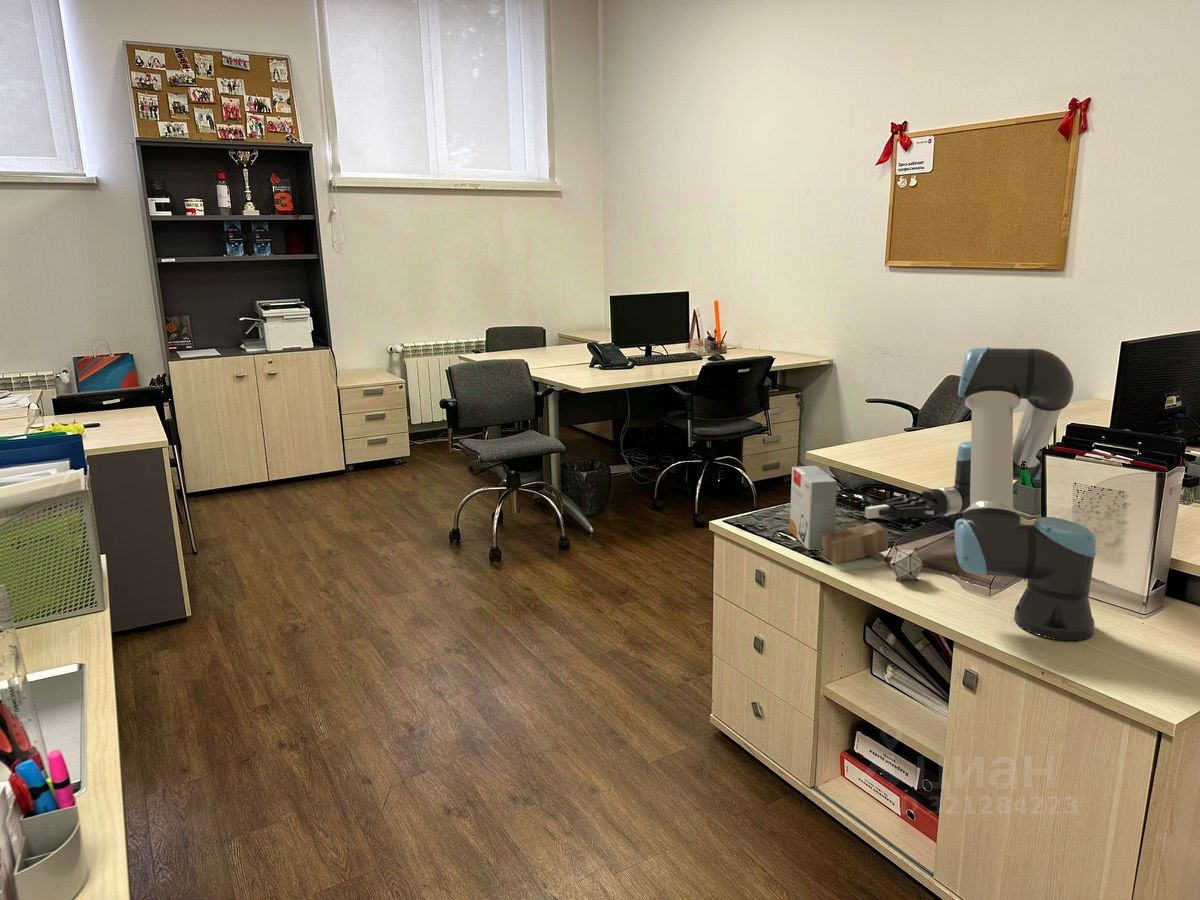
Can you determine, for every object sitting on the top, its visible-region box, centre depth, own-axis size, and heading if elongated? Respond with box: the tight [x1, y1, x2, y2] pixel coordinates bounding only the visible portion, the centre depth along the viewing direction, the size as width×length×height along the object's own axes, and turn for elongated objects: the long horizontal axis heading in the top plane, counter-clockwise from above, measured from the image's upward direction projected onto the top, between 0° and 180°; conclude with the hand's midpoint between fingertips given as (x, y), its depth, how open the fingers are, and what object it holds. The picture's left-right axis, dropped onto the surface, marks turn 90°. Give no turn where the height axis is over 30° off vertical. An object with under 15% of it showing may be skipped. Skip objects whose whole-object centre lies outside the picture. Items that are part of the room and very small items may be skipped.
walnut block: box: [822, 522, 889, 564], centre depth 214 cm, size 6×6×16 cm
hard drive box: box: [789, 465, 838, 551], centre depth 225 cm, size 16×8×20 cm, turn 6°
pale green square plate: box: [816, 550, 889, 573], centre depth 214 cm, size 14×13×2 cm
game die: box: [886, 546, 928, 582], centre depth 200 cm, size 9×8×10 cm
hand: (866, 513), depth 213 cm, fingers closed
